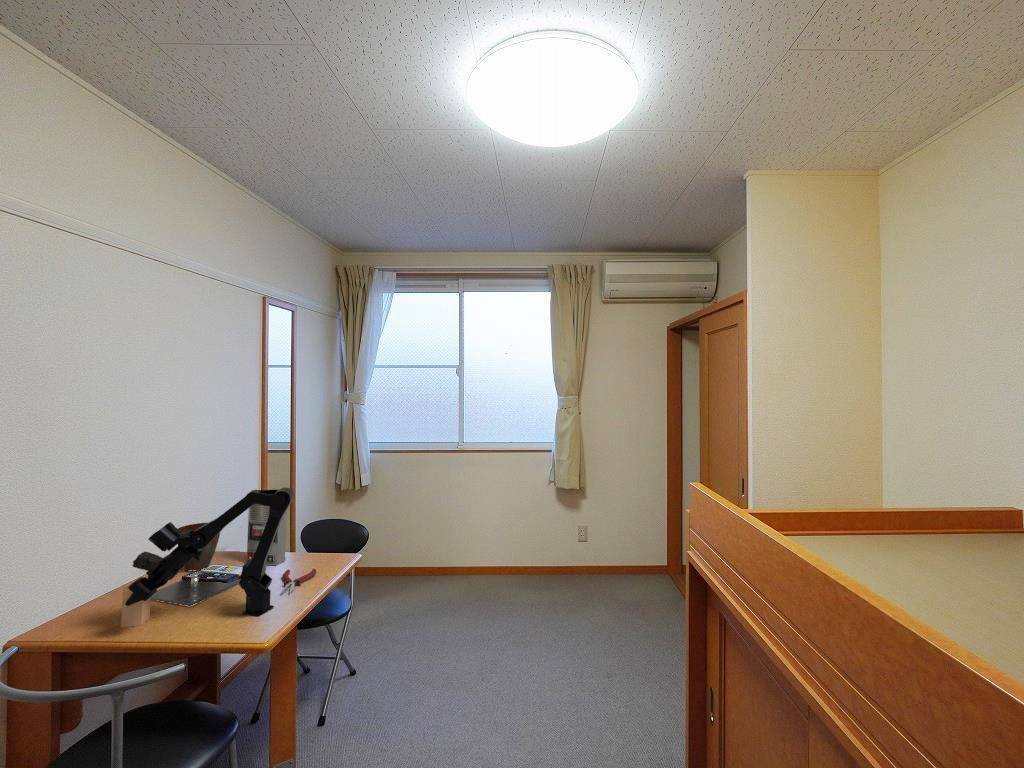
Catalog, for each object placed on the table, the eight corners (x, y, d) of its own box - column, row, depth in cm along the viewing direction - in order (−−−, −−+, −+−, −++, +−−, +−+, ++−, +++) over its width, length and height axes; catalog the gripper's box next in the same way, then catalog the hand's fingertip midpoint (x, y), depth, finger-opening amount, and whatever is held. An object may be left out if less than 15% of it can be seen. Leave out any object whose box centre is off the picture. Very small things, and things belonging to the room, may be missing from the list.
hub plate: (241, 582, 165) (241, 567, 165) (190, 607, 145) (190, 590, 146) (197, 576, 170) (198, 561, 170) (142, 599, 150) (143, 582, 150)
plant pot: (197, 560, 186) (199, 521, 187) (229, 563, 184) (230, 523, 184) (163, 573, 172) (165, 531, 172) (197, 577, 169) (199, 534, 170)
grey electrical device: (244, 563, 183) (247, 502, 184) (255, 558, 189) (257, 498, 190) (275, 566, 181) (278, 504, 182) (285, 561, 187) (287, 500, 188)
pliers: (267, 598, 154) (267, 590, 154) (285, 575, 174) (286, 568, 174) (302, 596, 156) (303, 588, 156) (317, 574, 176) (317, 567, 176)
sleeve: (149, 617, 138) (151, 581, 138) (141, 625, 133) (143, 588, 134) (130, 619, 137) (132, 582, 137) (121, 627, 132) (122, 589, 132)
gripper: (169, 534, 146) (126, 571, 143) (138, 553, 128) (89, 597, 125) (195, 557, 148) (154, 594, 144) (169, 579, 130) (122, 622, 126)
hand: (131, 600), depth 135 cm, fingers closed on sleeve, 5 cm apart
